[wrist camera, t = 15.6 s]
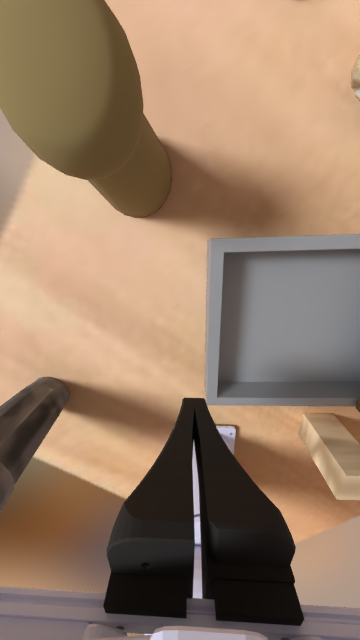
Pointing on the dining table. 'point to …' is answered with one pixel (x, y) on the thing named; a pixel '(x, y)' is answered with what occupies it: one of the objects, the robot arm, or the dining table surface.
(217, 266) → the shallow grey box
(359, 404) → the lid
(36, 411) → the beverage cup
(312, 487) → the dining table surface
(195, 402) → the robot arm
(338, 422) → the block
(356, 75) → the pastry
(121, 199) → the olive pawn figure
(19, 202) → the dining table surface
